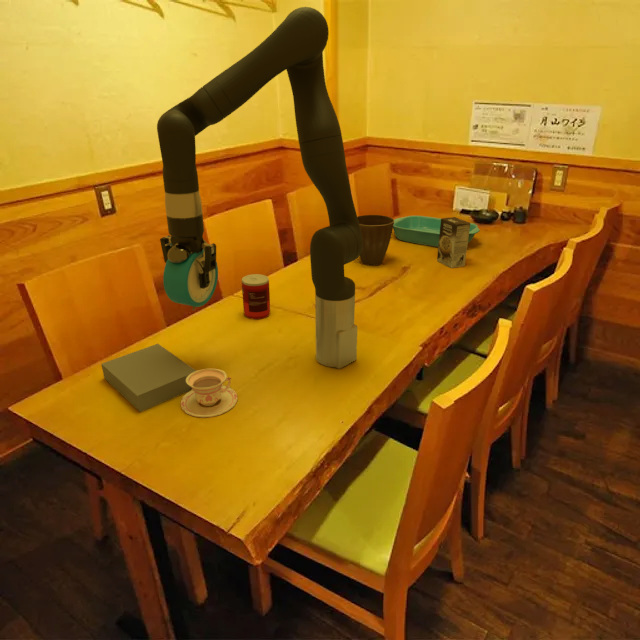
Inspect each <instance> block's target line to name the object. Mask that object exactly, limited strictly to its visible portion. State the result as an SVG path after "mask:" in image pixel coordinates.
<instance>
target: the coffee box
mask: <svg viewBox="0 0 640 640" xmlns="http://www.w3.org/2000/svg"><path fill="white" fill-rule="evenodd" d="M440 219H441V225H440V235H439V245H438V247H437V257H436V261H437V262H438V263H440V264H442V265H444V266H446V267H449V268H451V269H454V268H460V267H466V259H467V251H468V244H469V243H468V238H469V231H470V223H471V222H468V221H467V220H464V219H462V218H458V217H455V216H453V217H443V218H440Z"/></svg>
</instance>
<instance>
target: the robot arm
mask: <svg viewBox="0 0 640 640" xmlns="http://www.w3.org/2000/svg"><path fill="white" fill-rule="evenodd" d="M328 40H329V26H328V22H327V19H326V18H325V16H324V15H323V14H322V13H321V12H320V11H319V10H317V9H316V8H313V7H309V6H302V7H298V8H295V9H293V10H292V11H290V12H289V13H288V14H287V16H286V17H285V19H283V21H282V22H281V23H280V24H279V25H278V26H277V27H276V28H275V29H274V30H273V31H272V33H271V34H270V35H269V36H267V37H266V38H265V39H264V40H263V41H262V42H261V43H259V45H257V46H256V47H255V48H254V49H252V50H251V51H250V52H249V53H247V54H246V55H245V56H243V57H242V58H240V59H239V60H238V61H236V62H234V64H232V65H231V66H229V67H228V68H226V69H224V70H223V71H222V72H221V73H219V74H218V75H216V76H215V77H214V78H212V79H210V81H208V82H207V83H206V84H204V85H203V86H202V87H200V88H199V89H198V90H196V91H195V92H194V93H193V94H192V95H190V96H189V97H187V98H185V99H184V100H182V101H181V102H179V103H178V104H175V105H174V106H172V107H171V108H170V109H168V110H167V111H165V112H163V113H162V114H161V115H160V117H159V118H158V120H157V123H156V130H157V131H156V132H157V137H158V143H159V149H160V150H159V151H160V155H161V161H162V179H163V181H162V182H163V188H164V189H163V190H164V206H165V215H166V223H167V230H168V231H167V232H168V234H169V235H166V236H163V237H160V238H159V241H160V246H161V251H162V255H163V257H162V258H163V260H164V263H165V264H166V262H167V260H168V251H169V249H170V248H171V247H172V246H174V245H177V244H183V245H185V246H187V247H188V248H189V250H190V253H191V254H193V253H199V252H200V251H201V252H202V250H203V249H204V252H203V254H202V258H200V259H197V258H196V259H195V264H194V265H196V267H197V269H198V271H199V272H200V273H199V282H200V288H202V289H204V288H206V287H208V285H209V284H210V279H209V272H210V271H212V270H214V269H216V262H217V244H216V243H214V242H213V243H211V244H209V243H208V242H207V243H205V242H204V240H205V239H204V232H205V227H204V226H205V225H204V214H203V205H202V199H201V192H200V186H199V185H200V183H199V176H198V170H197V163H196V159H197V158H196V157H197V156H196V155H197V153H196V149H197V148H196V147H197V146H196V136H197V135H199V134H200V133H202V132H203V131H204V130H205V129H206V128H208V127H210V126H214V125H216V124H218V123H220V122H222V121H223V120H224V119H225V118H227V117H228V116H230V115H231V114H232V113H234V112H236V110H238V109H239V108H240V107H242V106H243V105H245V104H246V103H247V102H248V101H249V100H250V99H251V98H253V97H254V96H255V95H256V94H257V93H258V92H259V91H260V90H262V88H263V87H265V86H266V85H267V84H268V83H269V82H271V81H272V80H273V79H274V78H275V77H277V76H278V75H280V74H282V73H283V72H284V71H286V72H287V77H288V81H289V83H290V88H291V92H292V98H293V106H294V108H293V109H294V117H295V118H294V119H295V124H296V125H295V126H296V131H297V141H298V145H299V150H300V156H301V162H302V165H303V168H304V171H305V172H306V174H307V176H308V178H309V179H310V181H311V182H312V184H313V185H314V186H315V188H316V189H317V191H318V192H319V194H320V196H321V197H322V200H323V201H324V204H325V207H326V211H327V215H328V223H329V225H328V226H325V227H322V228H320V229H318V230H316V231H315V232H313V235H312V237H311V239H310V244H309V245H310V246H309V254H310V255H309V260H310V271H311V272H310V274H311V280H312V283H313V286H314V290H315V292H314V293H315V294H314V295H315V298H314V299H315V305H314V307H315V359H316V361H317V362H318V363H319V364H321V365H322V366H325V367H329V368H330V367H331V368H337V369H339V370H340V369H342V368H344V367H345V366H348V365H350V364H351V362H352V363H353V361H354V362H356V361H357V358H358V357H357V353H358V351H357V350H358V349H357V345H358V325H357V324H355V311H356V310H355V307H356V284H355V281H354V280H353V279H351V278H350V277H347V276H345V265H347V264H350V263H352V262H354V261H356V260H357V259H358V258H360V254H361V252H362V248H363V239H362V233H361V229H360V225H359V221H358V218H357V217H358V214H357V211H356V207H355V203H354V200H353V195H352V190H351V185H350V178H349V173H348V168H347V161H346V154H345V145H344V141H343V136H342V129H341V125H340V122H339V118H338V116H337V113H336V111H335V108H334V106H333V103H332V101H331V98H330V95H329V92H328V89H327V85H326V78H325V69H324V56H323V54H324V53H323V52H324V51H325V49H326V46H327V43H328V42H329V41H328ZM203 239H204V240H203ZM201 263H202V265H203V267H202V265H201ZM355 360H356V361H355ZM349 363H350V364H349Z"/></svg>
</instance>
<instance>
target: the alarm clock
mask: <svg viewBox="0 0 640 640" xmlns="http://www.w3.org/2000/svg"><path fill="white" fill-rule="evenodd" d="M203 240H204V242H205V243H207V244H208V242H207V241H206V240H205V239H204V238H203ZM203 252H204V249H203V250H202V252H201V251H200V252H199V253H193V254H191V253H190V250H189V248H188V247H187V246H185V245H183V244H177V245H174V246H172V247H171V248H170V249H169V251H168V260H167V262H166V263H165V264H164V270H163V275H162V277H163V281H162V282H163V283H162V284H163V288H164V292H165V294H166V296H167V297H168V298H169V300H170V301H171V302H173V303H176V304H181V305H184V306H190V307H192V311H195V309H196V308H198V307H199V308H200V307H202V306H204V305H206V304H207V303H208V302H209V301H210V300H212V297H213V295H214V293H215V290H216V288H217V285H218V279H219V267H218V263H217V261H216V269H214V270H212V271H210V272H209V279H210V284H209V285H208V287H206V288H204V289H202V288H200V282H199V273H200V272H199V271H198V269H197V267H196V265H194V264H195V259H196V258H197V259H200V258H202V254H203ZM201 265H202V263H201ZM202 267H203V265H202Z"/></svg>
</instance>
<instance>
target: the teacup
mask: <svg viewBox="0 0 640 640" xmlns="http://www.w3.org/2000/svg"><path fill="white" fill-rule="evenodd" d="M231 380H232V377H229V376H228V374H227V373H226V372H225V371H224V370H222V369H219V368H211V367H210V368H203V369H198V370H196V371H195V372H193V373H191V374H190V375H188V376H187V378H186V383H187V384H188V385H189V386H190V387H191V388H192V390H190V391H188V392H185V393H184V395H183V396H182V398H181V400H180V407H181V409H182V411H183V412H184V413H185V414H187V415H189V416H192V417H196V418H197V417H198V418H212V417H213V418H214V417H216V416H220V415H223V414H225V413H227V412H229V411H231V409H233V408H234V407H235V405H236V404H237V402H238V393H237V392H236V391H235V389H233V388H232V387H230V386H231ZM225 382H227V385H225V384H224V383H225ZM223 384H224V385H223ZM218 401H220V402H219V403H218V404H217V402H218ZM200 404H201V405H202V406H201V405H200ZM215 404H217V405H215Z"/></svg>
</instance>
